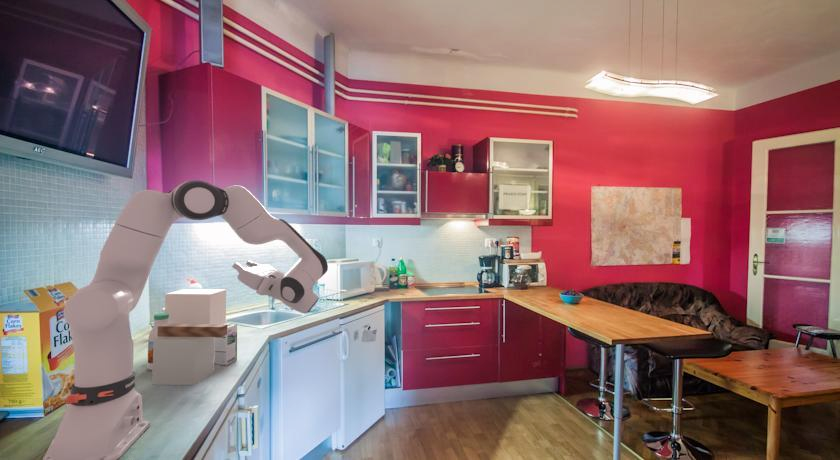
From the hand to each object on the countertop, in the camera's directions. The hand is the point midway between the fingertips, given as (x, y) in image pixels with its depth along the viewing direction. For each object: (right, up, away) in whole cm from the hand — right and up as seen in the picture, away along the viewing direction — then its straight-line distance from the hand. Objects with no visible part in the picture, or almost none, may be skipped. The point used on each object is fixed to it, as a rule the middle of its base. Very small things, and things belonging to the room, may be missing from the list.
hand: (241, 263), depth 124 cm
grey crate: (-19, -40, -2) cm, 44 cm away
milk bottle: (-35, -40, +8) cm, 54 cm away
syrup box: (-13, -41, +14) cm, 45 cm away
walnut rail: (-16, -25, -1) cm, 30 cm away
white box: (-31, -40, +23) cm, 56 cm away
